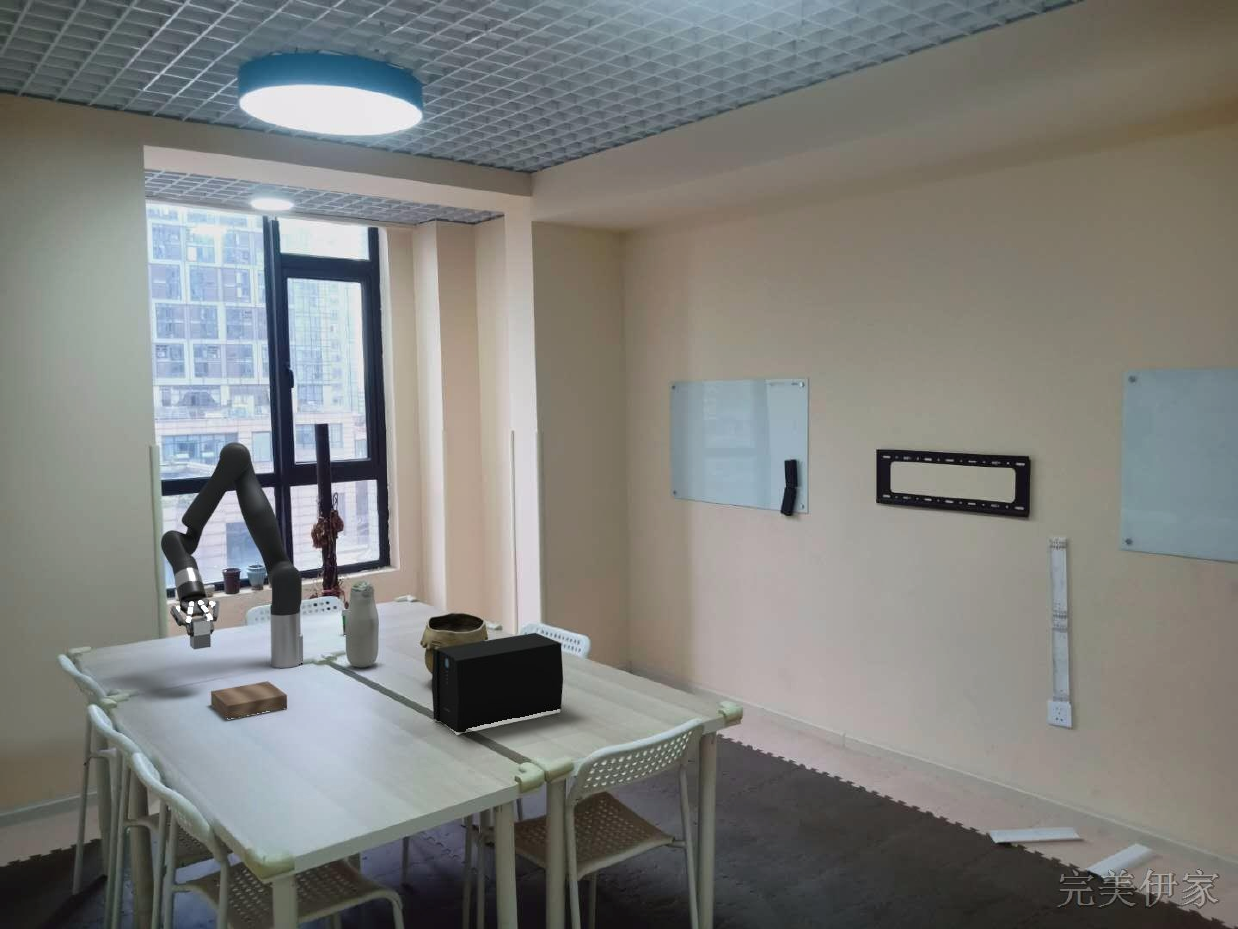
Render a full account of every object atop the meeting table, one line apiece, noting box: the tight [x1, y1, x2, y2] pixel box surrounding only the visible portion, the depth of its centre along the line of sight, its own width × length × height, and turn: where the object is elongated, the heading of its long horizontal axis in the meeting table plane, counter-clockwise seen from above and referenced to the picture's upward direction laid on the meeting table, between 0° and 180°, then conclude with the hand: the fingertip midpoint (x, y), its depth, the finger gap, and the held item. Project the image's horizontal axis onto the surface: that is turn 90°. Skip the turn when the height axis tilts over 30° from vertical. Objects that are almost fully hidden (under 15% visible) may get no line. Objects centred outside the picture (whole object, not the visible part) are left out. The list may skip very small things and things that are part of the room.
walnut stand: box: [210, 680, 288, 719], centre depth 269 cm, size 16×16×4 cm
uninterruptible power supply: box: [431, 632, 564, 732], centre depth 263 cm, size 16×34×20 cm, turn 126°
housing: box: [189, 617, 212, 650], centre depth 281 cm, size 5×5×8 cm
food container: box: [341, 609, 348, 636], centre depth 352 cm, size 12×6×10 cm, turn 168°
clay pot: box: [419, 612, 489, 675], centre depth 293 cm, size 21×21×20 cm
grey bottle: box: [345, 580, 380, 668], centre depth 309 cm, size 10×10×28 cm
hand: (201, 634), depth 279 cm, fingers closed on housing, 4 cm apart
